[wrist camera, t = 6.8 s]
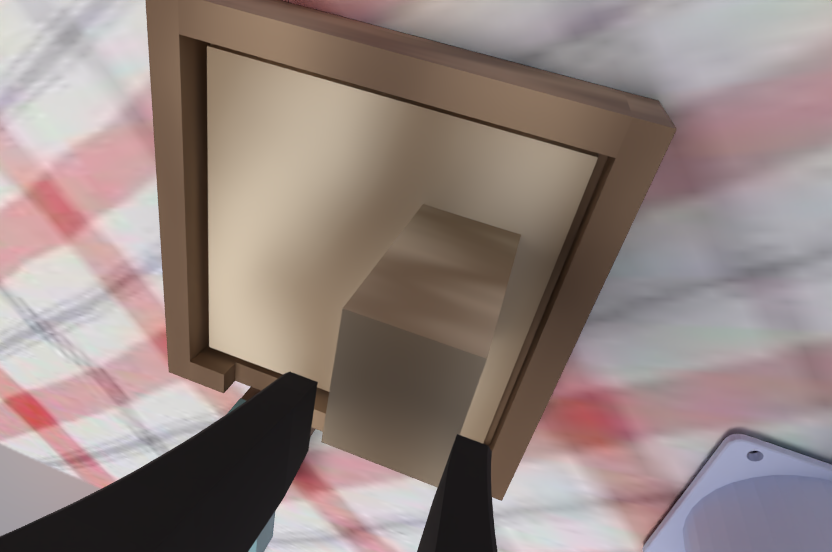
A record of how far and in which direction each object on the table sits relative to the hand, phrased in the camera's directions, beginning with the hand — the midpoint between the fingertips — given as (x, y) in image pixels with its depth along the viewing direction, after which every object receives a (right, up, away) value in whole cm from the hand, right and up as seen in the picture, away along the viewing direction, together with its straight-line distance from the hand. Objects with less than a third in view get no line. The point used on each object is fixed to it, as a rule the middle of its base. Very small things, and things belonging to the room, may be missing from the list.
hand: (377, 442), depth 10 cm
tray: (-1, +3, +10) cm, 11 cm away
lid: (-1, +4, +7) cm, 8 cm away
